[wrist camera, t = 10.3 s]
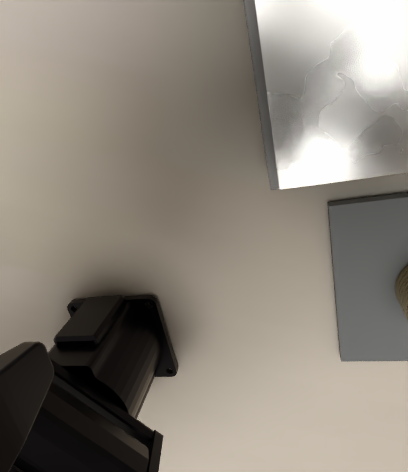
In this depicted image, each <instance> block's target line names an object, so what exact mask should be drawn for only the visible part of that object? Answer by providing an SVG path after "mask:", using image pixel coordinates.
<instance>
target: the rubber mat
mask: <svg viewBox="0 0 408 472" xmlns="http://www.w3.org/2000/svg"><path fill="white" fill-rule="evenodd" d="M328 211H329V224H330V236H331V249H332V261H333V274H334V286H335V298H336V311H337V323H338V336H339V348H340V357H341V361H408V321H407V318H406V316H405V314H404V312H403V310H402V308H401V306H400V304H399V302H398V300H397V298H396V294H395V283H396V279H397V277H398V275H399V274H400V272H401V271H402V269H403V268H404V267H405V266H406V265H407V264H408V193H400V194H392V195H384V196H375V197H367V198H359V199H350V200H342V201H334V202H328Z"/></svg>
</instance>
